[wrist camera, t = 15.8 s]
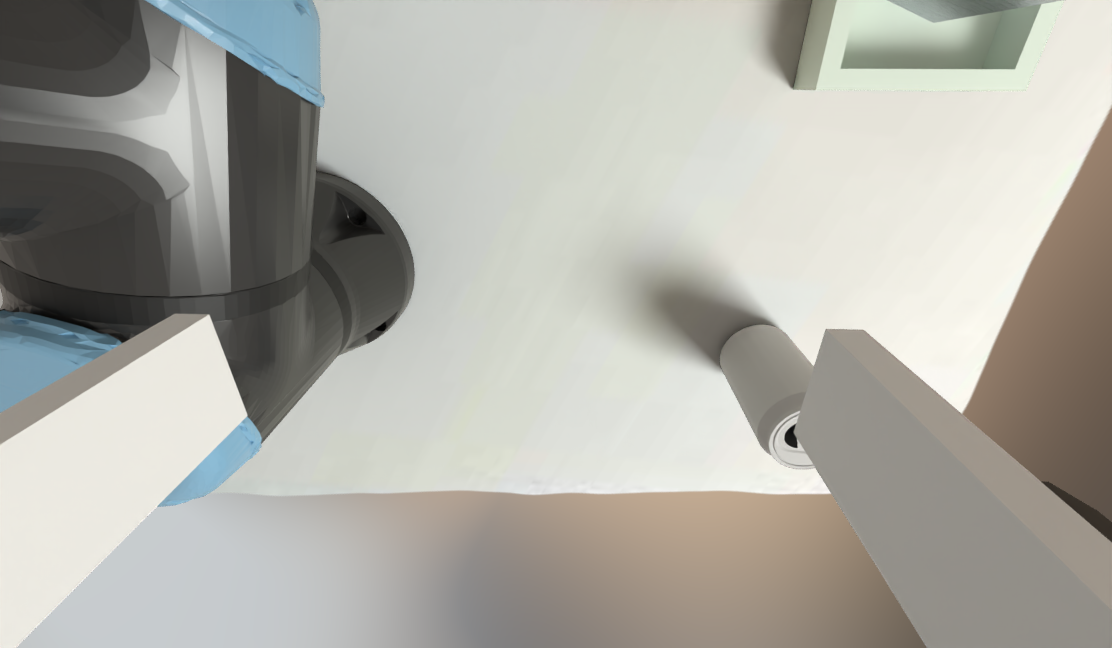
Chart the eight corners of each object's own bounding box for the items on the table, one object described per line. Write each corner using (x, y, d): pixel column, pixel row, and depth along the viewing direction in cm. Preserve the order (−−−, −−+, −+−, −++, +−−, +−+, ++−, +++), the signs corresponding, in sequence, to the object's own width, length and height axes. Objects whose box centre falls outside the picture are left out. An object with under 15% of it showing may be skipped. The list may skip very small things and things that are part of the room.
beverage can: (742, 310, 41) (801, 390, 30) (803, 336, 42) (881, 423, 31) (704, 365, 43) (745, 456, 33) (762, 389, 44) (820, 485, 34)
